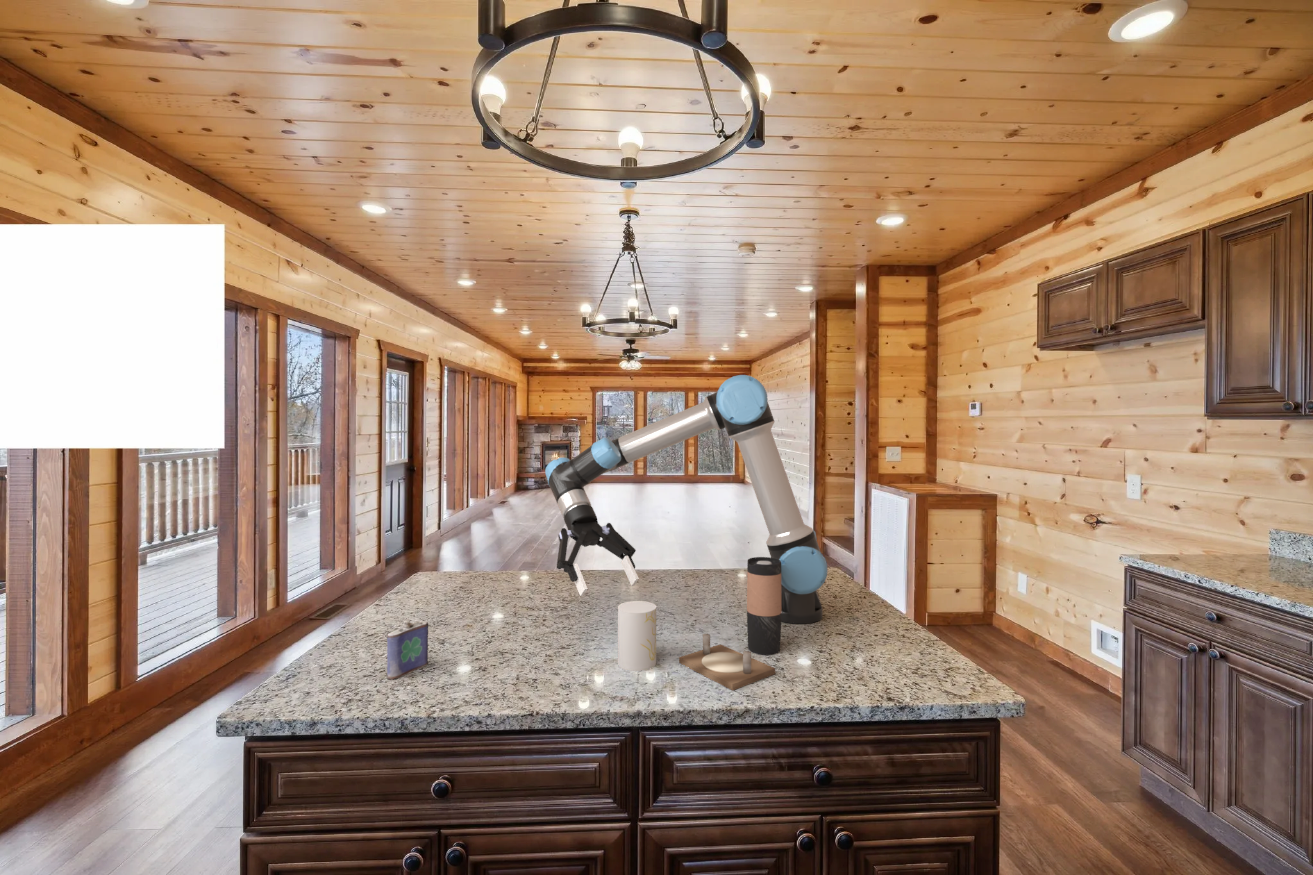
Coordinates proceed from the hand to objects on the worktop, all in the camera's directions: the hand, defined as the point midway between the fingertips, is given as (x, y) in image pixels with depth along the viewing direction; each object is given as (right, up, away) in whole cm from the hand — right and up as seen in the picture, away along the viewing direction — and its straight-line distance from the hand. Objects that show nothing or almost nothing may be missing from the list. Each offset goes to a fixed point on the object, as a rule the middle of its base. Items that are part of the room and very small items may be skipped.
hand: (610, 587), depth 129 cm
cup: (+6, -14, -7) cm, 17 cm away
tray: (+25, -14, -10) cm, 30 cm away
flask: (-41, -14, -11) cm, 45 cm away
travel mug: (+35, -14, 0) cm, 37 cm away
